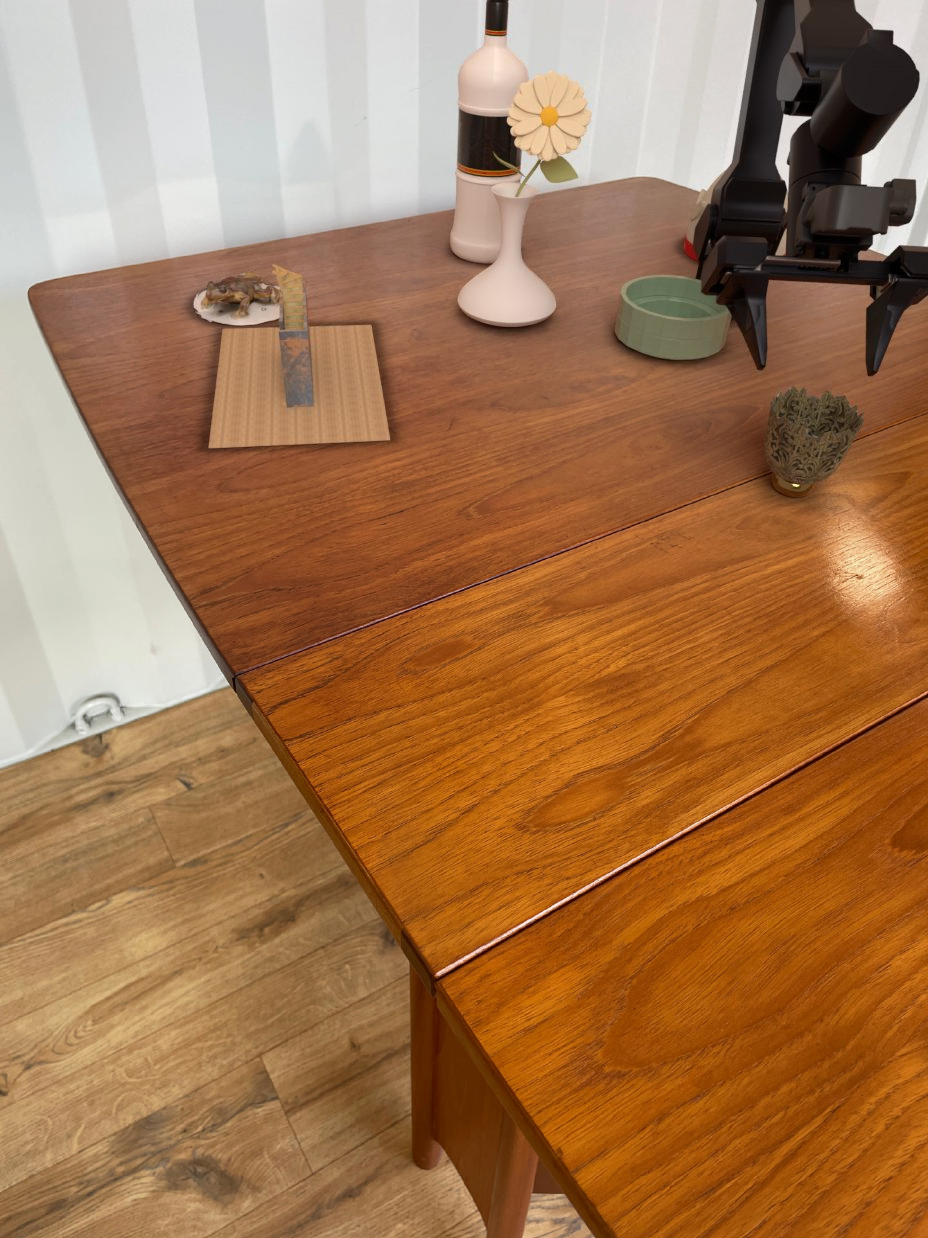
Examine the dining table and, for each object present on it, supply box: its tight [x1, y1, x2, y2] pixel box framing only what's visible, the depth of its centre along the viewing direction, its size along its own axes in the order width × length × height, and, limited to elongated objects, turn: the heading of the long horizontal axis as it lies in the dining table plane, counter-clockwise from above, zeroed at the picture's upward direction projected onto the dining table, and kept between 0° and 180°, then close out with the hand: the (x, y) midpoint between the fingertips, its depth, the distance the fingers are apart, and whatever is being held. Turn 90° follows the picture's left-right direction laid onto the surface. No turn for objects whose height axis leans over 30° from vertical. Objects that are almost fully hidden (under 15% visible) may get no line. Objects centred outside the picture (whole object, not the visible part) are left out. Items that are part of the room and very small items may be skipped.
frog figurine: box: [193, 269, 280, 326], centre depth 102 cm, size 12×12×4 cm
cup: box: [763, 385, 865, 498], centre depth 76 cm, size 8×7×8 cm
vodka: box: [449, 0, 530, 265], centre depth 108 cm, size 9×9×30 cm
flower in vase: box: [457, 70, 592, 328], centre depth 95 cm, size 13×11×25 cm
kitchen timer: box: [682, 168, 788, 263], centre depth 116 cm, size 14×14×15 cm
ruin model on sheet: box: [208, 263, 391, 449], centre depth 87 cm, size 25×16×10 cm, turn 8°
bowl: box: [613, 274, 732, 361], centre depth 99 cm, size 12×12×5 cm
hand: (816, 371), depth 74 cm, fingers open, 9 cm apart
